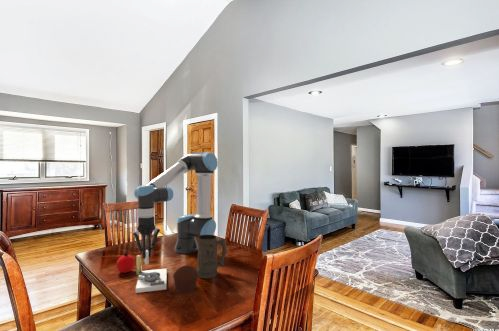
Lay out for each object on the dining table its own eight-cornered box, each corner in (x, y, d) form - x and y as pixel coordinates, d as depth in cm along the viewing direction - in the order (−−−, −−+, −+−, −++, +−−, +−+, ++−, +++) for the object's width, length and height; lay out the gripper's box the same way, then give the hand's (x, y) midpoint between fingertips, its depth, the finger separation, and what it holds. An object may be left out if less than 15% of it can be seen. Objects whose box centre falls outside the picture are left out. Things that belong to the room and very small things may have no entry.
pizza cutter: (163, 276, 130) (163, 256, 130) (153, 282, 123) (153, 261, 123) (142, 272, 134) (142, 253, 134) (131, 278, 128) (131, 257, 128)
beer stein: (198, 280, 132) (201, 239, 132) (192, 272, 141) (195, 234, 141) (227, 276, 139) (230, 238, 139) (219, 269, 148) (222, 233, 149)
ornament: (117, 277, 135) (117, 257, 135) (115, 270, 142) (115, 252, 142) (136, 273, 140) (136, 254, 139) (133, 267, 147) (133, 249, 147)
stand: (166, 272, 141) (166, 265, 141) (166, 289, 122) (166, 280, 122) (139, 275, 137) (139, 267, 137) (135, 293, 118) (135, 284, 118)
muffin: (199, 293, 119) (199, 271, 118) (173, 296, 115) (173, 273, 115) (196, 282, 130) (197, 261, 130) (173, 284, 127) (173, 263, 127)
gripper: (157, 213, 139) (157, 259, 140) (130, 216, 132) (131, 264, 132) (161, 216, 133) (161, 263, 133) (134, 219, 126) (134, 269, 126)
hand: (146, 263), depth 133 cm, fingers closed
